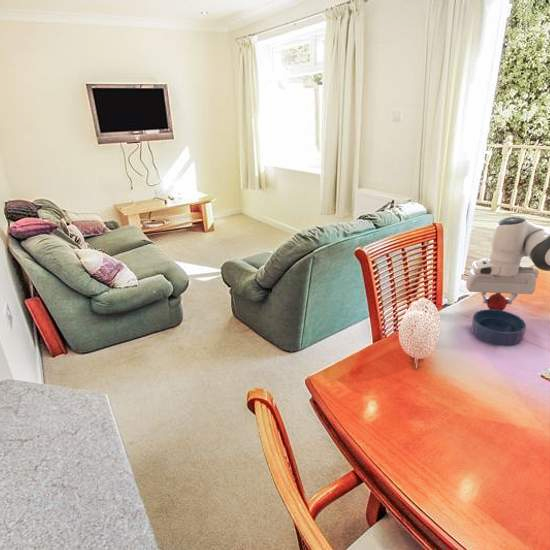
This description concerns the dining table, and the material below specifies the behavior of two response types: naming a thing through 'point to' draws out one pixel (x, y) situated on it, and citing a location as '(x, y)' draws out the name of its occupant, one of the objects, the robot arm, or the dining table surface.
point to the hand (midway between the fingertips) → (496, 303)
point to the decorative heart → (420, 329)
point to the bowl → (498, 327)
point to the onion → (497, 302)
